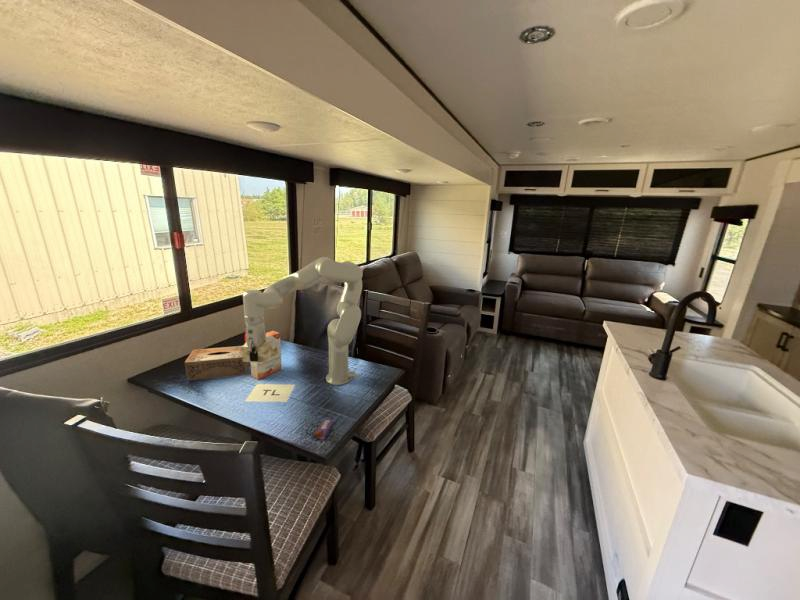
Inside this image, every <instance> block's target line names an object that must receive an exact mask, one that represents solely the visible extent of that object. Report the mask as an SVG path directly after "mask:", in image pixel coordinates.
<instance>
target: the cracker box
mask: <svg viewBox="0 0 800 600" xmlns="http://www.w3.org/2000/svg"><path fill="white" fill-rule="evenodd" d="M265 333H266V339H265V341H264V342H270V346H271V357H270V358H269V360H268V361H267V362H250V373H251V377H252V378H254V379H256V380H261V379H263V378H265V377H267V376H270V375H272V374H275V373H277V372H278V371H280V370H282V349H281V348H282V347H281V333H280V332H278V331H275V330H272V331H268V332H265Z"/></svg>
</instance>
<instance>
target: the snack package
mask: <svg viewBox="0 0 800 600" xmlns="http://www.w3.org/2000/svg"><path fill="white" fill-rule="evenodd" d="M336 421H337V420H336V419H331V418H327V417H325V418H323V420H322V422H321V423H320V425H319V426H318V427H317V429H316V430H315V432H314V434H313V435H312V436H311V438H313V439H316V440H317V439H318V440H323V441H324V440H325V438H326V436H327V434H328V433H329V432H330V430H331V428H332V426H333V425H334V423H335V422H336Z"/></svg>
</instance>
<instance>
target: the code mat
mask: <svg viewBox="0 0 800 600" xmlns="http://www.w3.org/2000/svg"><path fill="white" fill-rule="evenodd" d="M295 386H296V384H285V383H284V384H283V383H282V384H278V383H277V384H276V383H275V384H272V383H270V384H269V383H267V384H266V383H265V384H262V383H260V384H259V383H257V384H256V385H255V386H254V388H253V389H252V391H251V392H250V393H249V395H248V396H247V397H246V398H245V400H244V402H260V403H261V402H263V403H264V402H265V403H266V402H271V403H273V402H274V403H275V402H279V403H280V402H281V403H283V402H284V403H287V402H288V401H289V398H290V397H291V394H292V392H293V390H294V388H295Z"/></svg>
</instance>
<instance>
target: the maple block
mask: <svg viewBox="0 0 800 600" xmlns="http://www.w3.org/2000/svg"><path fill="white" fill-rule="evenodd" d="M241 346H242V347H241V349H242V361H243V362H267V361H268V360H269V358H270V357H271V346H270V342H263V343H262V344H261V345H260V346H259V347H257V352H258V361H250V355H249V351H248V349H247V348H248V346H247V342H246V343H245V342H244V344H243V345H241ZM252 346H255V345H254V344H252ZM252 349H254V350H255V347H252Z"/></svg>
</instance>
